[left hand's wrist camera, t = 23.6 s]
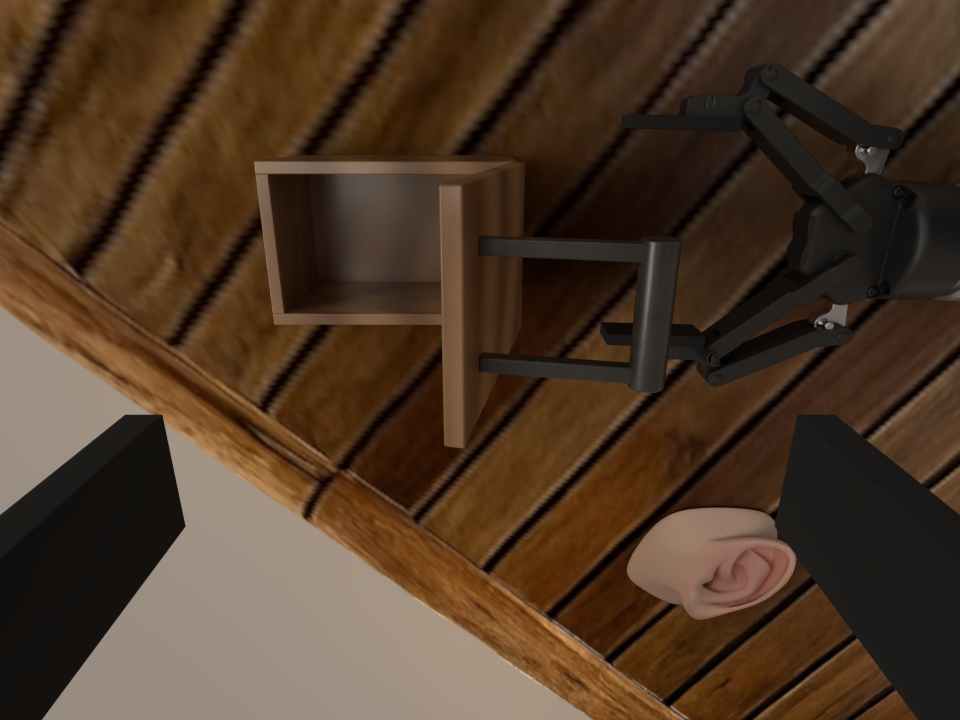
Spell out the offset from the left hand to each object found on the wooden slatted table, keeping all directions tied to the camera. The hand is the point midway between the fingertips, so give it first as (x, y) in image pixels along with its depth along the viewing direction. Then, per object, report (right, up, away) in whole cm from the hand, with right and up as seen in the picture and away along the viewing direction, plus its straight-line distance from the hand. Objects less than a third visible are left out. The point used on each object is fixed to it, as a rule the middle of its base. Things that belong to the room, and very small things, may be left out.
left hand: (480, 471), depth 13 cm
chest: (-6, +13, +33) cm, 36 cm away
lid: (0, +6, +16) cm, 18 cm away
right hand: (+9, +11, +27) cm, 30 cm away
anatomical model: (+21, -16, +44) cm, 51 cm away
